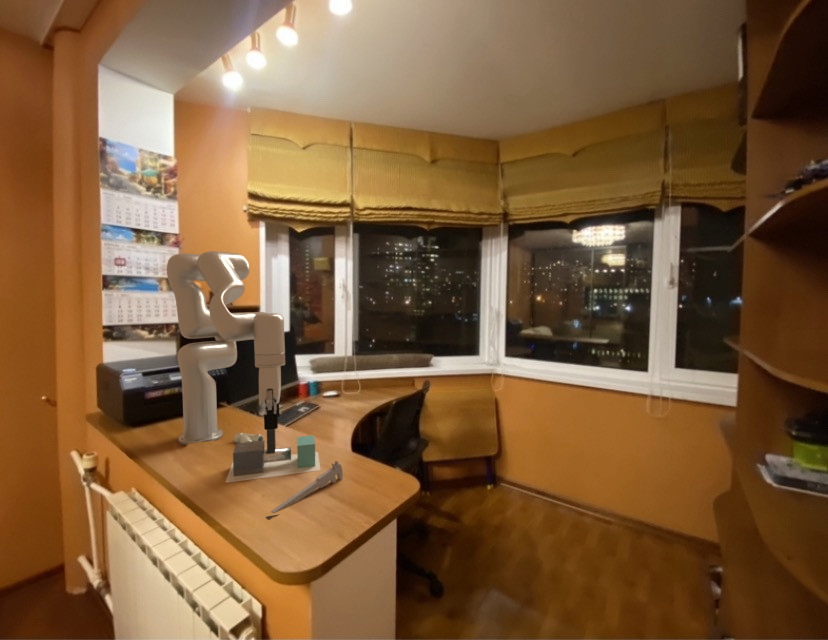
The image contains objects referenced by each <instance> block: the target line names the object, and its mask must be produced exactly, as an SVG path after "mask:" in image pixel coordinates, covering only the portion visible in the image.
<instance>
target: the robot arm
mask: <svg viewBox="0 0 828 640" xmlns="http://www.w3.org/2000/svg"><path fill="white" fill-rule="evenodd" d="M249 274H250V263H249V261H248V260H247V258H246V257H245V256H244V255H242V254H241V253H237V252H228V251H227V252H225V251H216V250H213V251H211V250H210V251H206V252H203V253H202V254H200V253H187V252H186V253H176V254H174V255H172V256H170V257H169V258H168V261H167V264H166V276H167V280H168V283H169V286H170V288H171V290H172V292H173V295H174V298H175V305H176V314H177V320H178V326H179V328H178V329H179V332H180V334H181V336H182V337H184V338H186V339H190V340H191V339H206V338H214V339H215V340H212V341H208V340H207V341H201V342H200V341H199V342H192V343H187V344H185V345H183V346H182V347H180V349H179V350H178V352H177V355H176V356H177V363H178V366H179V372H180V376H181V377H180V379H181V386H182V387H181V389H182V391H181V393H182V414H183V415H182V417H183V433H182V434H180V436H179V437H178V443H180V444H181V445H186V446H188V444H195V443H197V444H198V443H204V442H214V441H217V440H219V439H220V438H221V437H223V433H224V432H223V430H222V429H221V428H218V414H217V413H218V411H217V410H218V409H217V408H218V407H217V385H216V384H217V383H216V381H215V379H214V378H213V377H212V376H211V375H210V374H209V373H208V372H209V371H214V370H220V369H224V368H230V367H232V366H233V365H235V364H236V362H237V359H238V349H237V347H238V346H237V342H240V341H249V340H253V345H254V346H253V347H254V366H255V367H254V368H258V369H259V370H258V405H259V406H262V405H264V413H263V424H264V430H265V431H267V430H270V429H275V430H277V429H278V428H279V422H278V419H279V417H280V399H281V398H280V397H281V391H282V389H281V388H282V387H281V386H282V376H281V375H282V371H281V367H282V366H285V365H286V345H285V343H286V341H285V340H286V339H285V319H284V316H283V315H282V314H281V313H276V312H275V313H274V312H273V313H268V312H264V311H257V312H256V311H255V312H254V311H253V312H251V311H250V312H249V311H248V312H230V310H229V309H228V307H227V306H228V305H229V304H232V303H234V302H236V301H237V300H239V299H240V298H241V297H242V296H243V294H244V293H245V289H246V286H245V284H244V281H243V280H245V279H247V277H248V276H249ZM194 281H196V282H198V281H199V282H201V281H202V282H205V283H206V284H207V285H208V287H209V289H210V291H211V292H212V294H213V295H212V297H211V300H210V302H209V308H208V305H207V298H206V294H205V293H204V291H203V290H202V289H201V287H200V286H199V285H197V283H196V282H194Z"/></svg>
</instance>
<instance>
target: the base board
mask: <svg viewBox="0 0 828 640" xmlns="http://www.w3.org/2000/svg"><path fill="white" fill-rule="evenodd" d="M318 471H321V464H320V456H319V452H318V451H315V466H312V467H304V468H298V455H297V453H294V454H291V460H286V461H278V462H270V463H265V464H264V470H263V473H257V474H249V475H242V476H234V473H233V462H232V463H231V466H230V469H229V471H228V474H227V477H226V479H225V483H234V482H243V481H250V480H257V479H258V480H259V479H265V478H273V477H281V476H288V475H295V474H302V473H303V474H304V473H311V472H318Z"/></svg>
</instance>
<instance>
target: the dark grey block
mask: <svg viewBox="0 0 828 640" xmlns="http://www.w3.org/2000/svg"><path fill="white" fill-rule="evenodd" d="M263 450H266V449H265V440H263V441H254V442H245V443H235V446H234V449H233V452H232V463H233V473H234V476H242V475H249V474H257V473H263V470H264V464H265V463H263Z"/></svg>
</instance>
